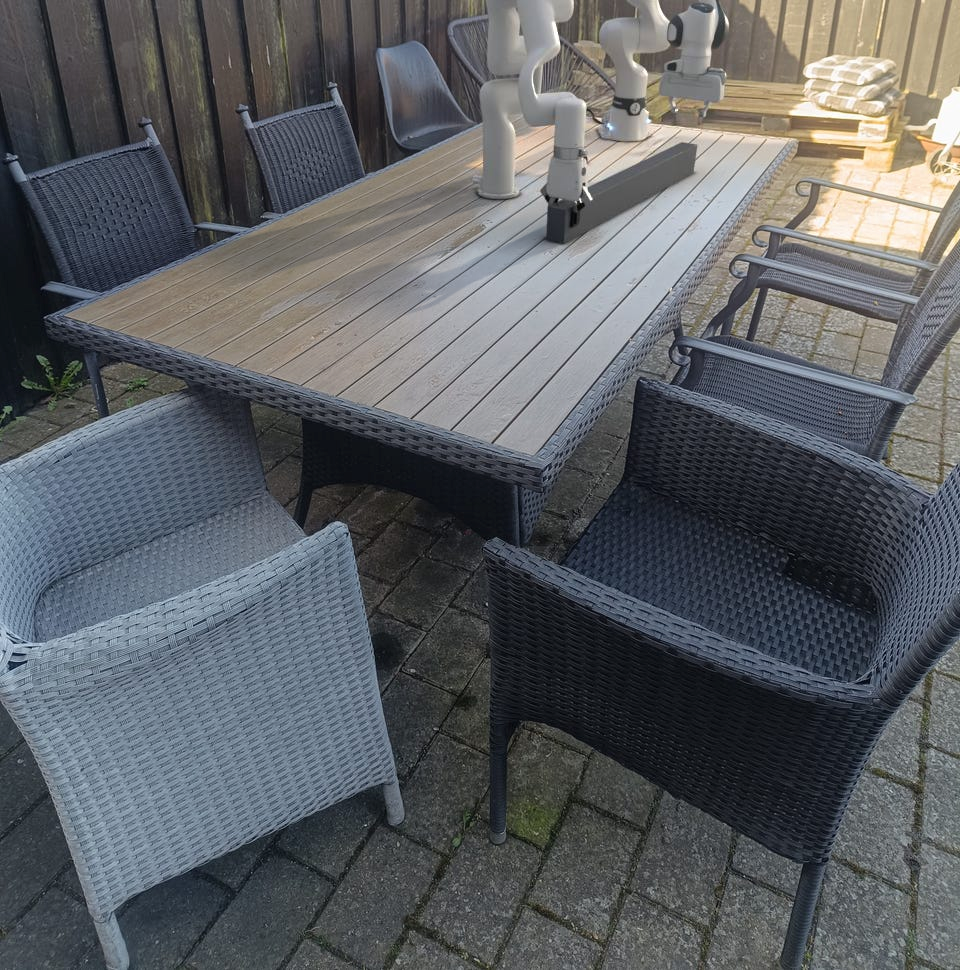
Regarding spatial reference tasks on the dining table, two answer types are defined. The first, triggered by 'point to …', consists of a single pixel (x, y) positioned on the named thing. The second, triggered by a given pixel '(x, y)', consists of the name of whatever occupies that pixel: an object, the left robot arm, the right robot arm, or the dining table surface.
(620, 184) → the beam
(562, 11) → the left robot arm
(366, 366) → the dining table surface
